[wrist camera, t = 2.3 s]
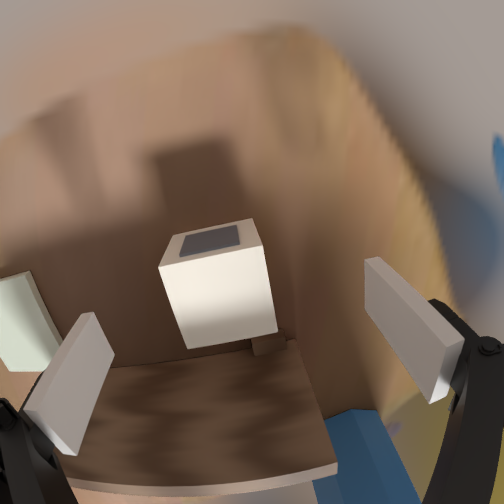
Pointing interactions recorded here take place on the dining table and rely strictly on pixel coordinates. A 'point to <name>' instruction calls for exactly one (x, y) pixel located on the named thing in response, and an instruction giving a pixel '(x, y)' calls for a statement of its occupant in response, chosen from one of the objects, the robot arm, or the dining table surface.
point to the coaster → (25, 325)
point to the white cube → (219, 284)
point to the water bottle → (364, 463)
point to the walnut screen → (205, 426)
